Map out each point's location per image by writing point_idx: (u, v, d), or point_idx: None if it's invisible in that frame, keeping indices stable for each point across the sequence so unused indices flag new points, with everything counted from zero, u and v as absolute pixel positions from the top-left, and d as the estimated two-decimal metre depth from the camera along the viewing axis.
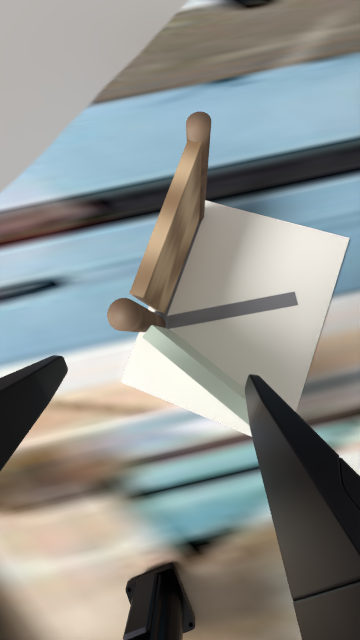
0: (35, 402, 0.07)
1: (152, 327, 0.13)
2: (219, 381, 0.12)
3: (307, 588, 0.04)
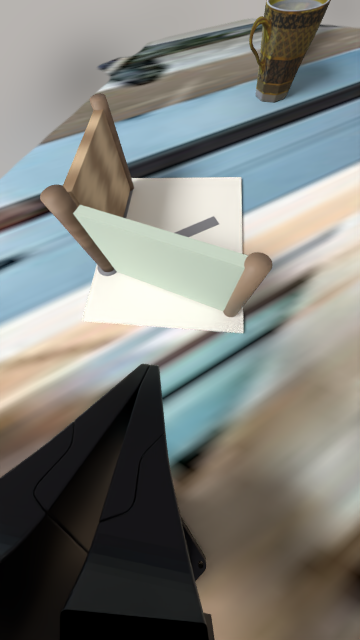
0: None
1: (80, 205, 0.16)
2: (137, 223, 0.15)
3: None
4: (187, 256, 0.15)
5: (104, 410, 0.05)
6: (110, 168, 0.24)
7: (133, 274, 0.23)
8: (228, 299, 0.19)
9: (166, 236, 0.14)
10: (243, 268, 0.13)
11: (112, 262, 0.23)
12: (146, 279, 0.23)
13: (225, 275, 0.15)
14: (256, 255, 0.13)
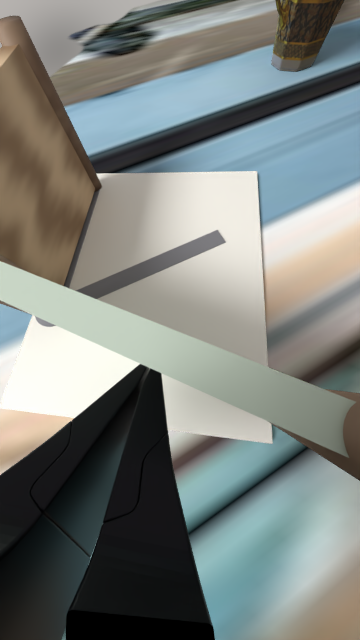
0: None
1: None
2: (26, 275, 0.06)
3: None
4: None
5: (102, 410, 0.05)
6: (45, 154, 0.14)
7: None
8: None
9: (93, 317, 0.05)
10: (341, 454, 0.04)
11: None
12: None
13: None
14: None
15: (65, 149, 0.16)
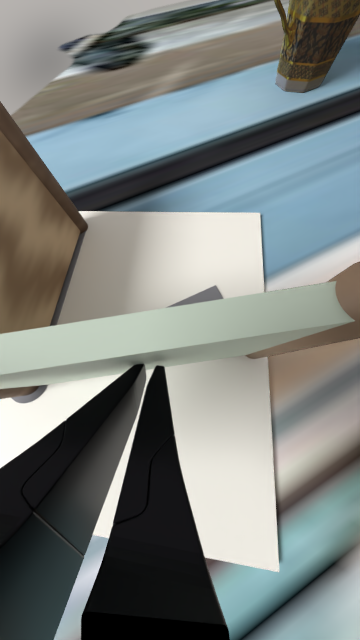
0: (131, 414, 0.07)
1: None
2: None
3: None
4: (177, 351, 0.05)
5: (96, 409, 0.05)
6: (14, 214, 0.12)
7: (76, 379, 0.13)
8: (263, 349, 0.10)
9: (93, 337, 0.05)
10: (349, 322, 0.05)
11: (25, 386, 0.12)
12: (102, 375, 0.13)
13: (277, 339, 0.06)
14: (358, 271, 0.05)
15: (41, 200, 0.14)
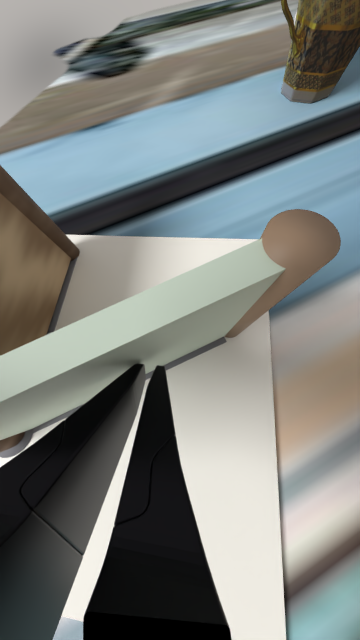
0: (130, 414, 0.07)
1: None
2: None
3: None
4: (137, 346, 0.05)
5: (95, 409, 0.05)
6: None
7: (62, 412, 0.12)
8: (234, 324, 0.10)
9: (41, 356, 0.05)
10: (281, 271, 0.05)
11: (6, 436, 0.11)
12: (89, 399, 0.12)
13: (233, 308, 0.06)
14: (276, 224, 0.05)
15: (24, 235, 0.13)
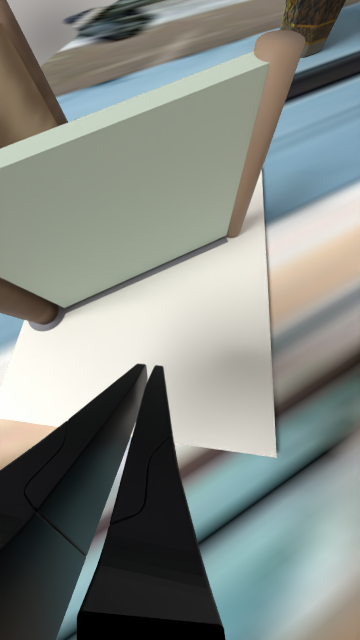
0: (132, 414, 0.07)
1: None
2: (37, 136, 0.07)
3: None
4: (168, 131, 0.08)
5: (98, 409, 0.05)
6: None
7: (91, 286, 0.14)
8: (235, 198, 0.13)
9: (109, 115, 0.07)
10: (266, 66, 0.07)
11: (49, 293, 0.13)
12: (113, 276, 0.15)
13: (234, 129, 0.09)
14: (263, 38, 0.07)
15: None
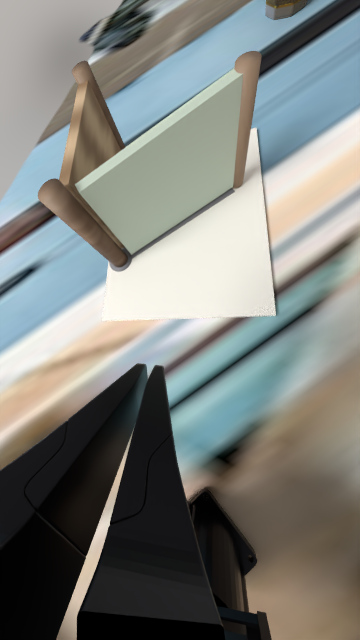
0: (132, 414, 0.07)
1: (76, 184, 0.15)
2: (134, 141, 0.15)
3: None
4: (193, 123, 0.15)
5: (98, 409, 0.05)
6: (106, 150, 0.21)
7: (147, 235, 0.23)
8: (235, 156, 0.19)
9: (165, 123, 0.14)
10: (242, 75, 0.14)
11: (126, 241, 0.22)
12: (160, 227, 0.23)
13: (228, 112, 0.15)
14: (239, 59, 0.14)
15: (113, 144, 0.23)
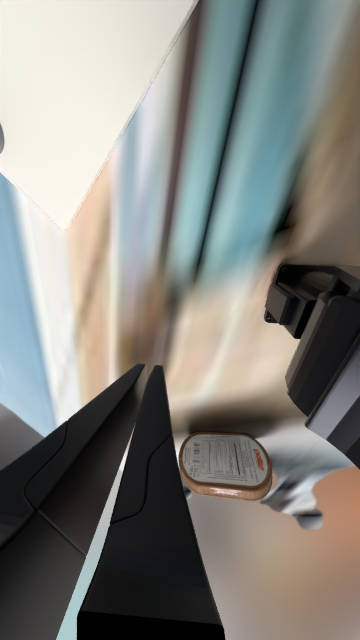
0: (132, 414, 0.07)
1: None
2: None
3: None
4: None
5: (98, 409, 0.05)
6: None
7: None
8: None
9: None
10: None
11: None
12: None
13: None
14: None
15: None
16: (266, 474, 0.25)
